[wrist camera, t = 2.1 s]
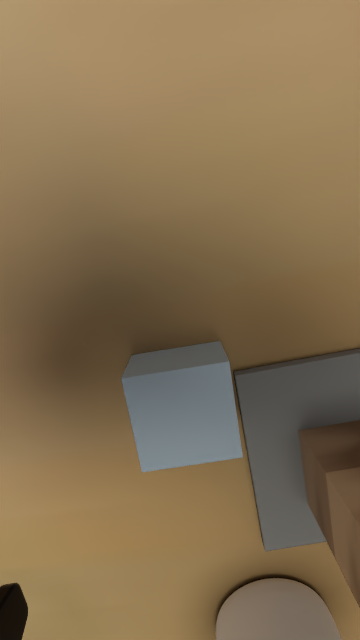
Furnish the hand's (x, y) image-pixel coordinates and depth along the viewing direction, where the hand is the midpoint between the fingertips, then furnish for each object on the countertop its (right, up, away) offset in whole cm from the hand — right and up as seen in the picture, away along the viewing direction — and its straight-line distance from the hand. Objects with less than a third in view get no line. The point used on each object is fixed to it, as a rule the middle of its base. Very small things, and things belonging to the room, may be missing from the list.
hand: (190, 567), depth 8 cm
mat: (+9, -1, +11) cm, 14 cm away
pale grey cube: (0, +2, +10) cm, 11 cm away
